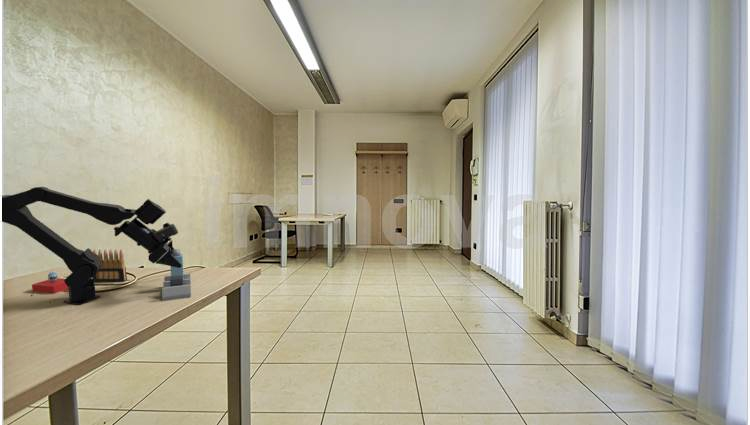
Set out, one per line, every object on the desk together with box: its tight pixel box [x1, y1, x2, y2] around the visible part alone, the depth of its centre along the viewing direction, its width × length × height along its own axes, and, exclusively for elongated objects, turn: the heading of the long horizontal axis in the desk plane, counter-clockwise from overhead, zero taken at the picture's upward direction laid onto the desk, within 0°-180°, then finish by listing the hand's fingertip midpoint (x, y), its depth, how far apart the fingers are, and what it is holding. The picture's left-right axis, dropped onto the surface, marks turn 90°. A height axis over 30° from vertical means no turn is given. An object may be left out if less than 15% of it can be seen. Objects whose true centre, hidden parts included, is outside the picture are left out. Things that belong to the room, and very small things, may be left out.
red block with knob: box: [31, 271, 68, 295], centre depth 114 cm, size 8×7×6 cm
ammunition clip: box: [91, 249, 128, 283], centre depth 123 cm, size 11×2×12 cm, turn 98°
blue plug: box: [170, 248, 184, 279], centre depth 118 cm, size 4×4×13 cm
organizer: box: [161, 273, 192, 302], centre depth 116 cm, size 8×14×6 cm, turn 29°
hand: (181, 263), depth 118 cm, fingers open, 9 cm apart
